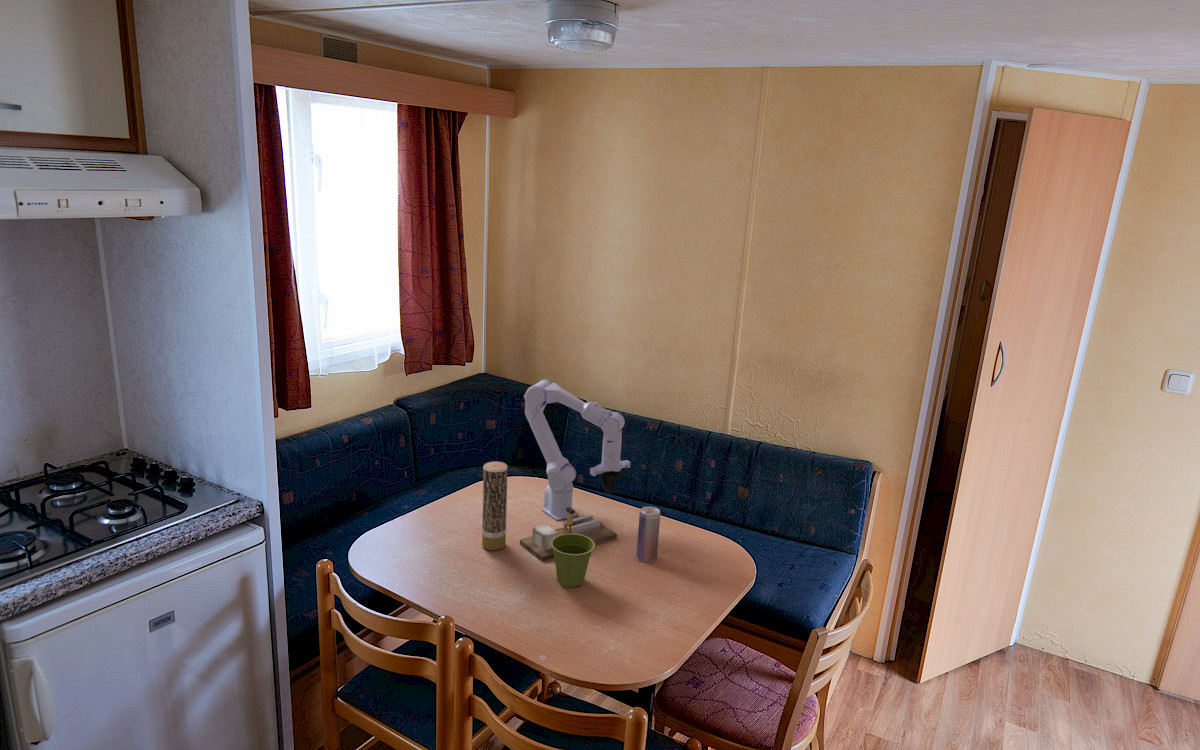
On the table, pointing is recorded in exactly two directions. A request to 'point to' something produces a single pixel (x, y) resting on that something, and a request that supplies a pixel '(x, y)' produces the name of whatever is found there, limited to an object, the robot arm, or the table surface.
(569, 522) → the sliding latch bolt
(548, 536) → the socket block
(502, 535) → the brown tall cylinder
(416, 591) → the table surface
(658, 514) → the beverage can
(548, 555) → the base board
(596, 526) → the sleeve
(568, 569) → the plant pot
